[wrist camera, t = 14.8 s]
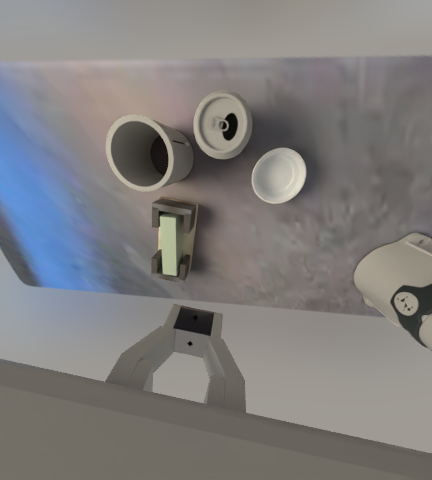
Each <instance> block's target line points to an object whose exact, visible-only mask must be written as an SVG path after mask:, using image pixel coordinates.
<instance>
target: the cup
mask: <svg viewBox="0 0 432 480" xmlns="http://www.w3.org/2000/svg"><path fill="white" fill-rule="evenodd" d="M158 136H161V137H162V139H163V141H164V142H165V144H166V147H167V151H168V157H169V161H168V162H169V164H168V168H167V172H166V174H165V176H163V175H161V174H160V173H159V172H158V171H157V170H156V168H155V167H154V165H153V163H152V160H151V154H150V153H151V147H152V144H153V142H154V140H155V139H156V138H157V137H158ZM173 140H175V141H178V142H182V143H184V144H185V145H183V144H179V143H175V142H173ZM106 153H107V158H108V161H109V164H110V166H111V168H112V170H113V172H114V173H115V174H116V176H117V177H118V178H119V179H120V180H121V181H122V182H123V183H124V184H125V185H127V186H128V187H130V188H132V189H135V190H138V191H144V192H149V191H154V190H157V189H159V188H162V187H165V186H167V185H170V184H172V183H175V182H177V181H180V180H182V179H184V178H185V177H186V176H187V175H188V174H189V173H190V171H191V169H192V166H193V161H194V154H193V150H192V147H191V144H190V143H189V141H188V140H187V138H186V137H185V136H184V135H183V134H181V133H180V132H178V131H176V130H174V129H172V128H170V127H168V126H165V125H163V124H161V123H159V122H156V121H154V120H152V119H150V118H148V117H145V116H142V115H136V114H132V115H131V114H130V115H126V116H124V117H121V118H119V119H118V120H117V121H115V123H114V124H113V125H112V127H111V128H110V130H109V132H108V135H107V139H106Z"/></svg>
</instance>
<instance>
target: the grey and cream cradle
mask: <svg viewBox="0 0 432 480" xmlns="http://www.w3.org/2000/svg"><path fill="white" fill-rule="evenodd" d="M198 205H199V204H197V203H192V202H186V201H181V200H176V199H170V198H165V197H160V199H159V200H157V201H155V202H153V203H152V227H155V228H159V246H158V252H157V253H156V254H155V255H154V256H153V258H152V274H151V277H155V278H160V279H165V280H170V281H175V282H180V283H184V282H185V279H186V277H187V275H188V272H190V271H191V262H192V254H193V246H194V238H195V230H196V221H197V213H198ZM165 212H170V213H175V214H180V215H183V260H182V262H181V264H180V270H179V272H178V274H177V276H174V275H166V274H163V266H162V248H161V230H160V216H161V215H162V214H164V213H165Z"/></svg>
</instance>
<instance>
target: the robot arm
mask: <svg viewBox="0 0 432 480" xmlns="http://www.w3.org/2000/svg"><path fill="white" fill-rule="evenodd" d="M354 283H355V285H356V287H357V289H358V290H359V291H360V292H361V293H362V294H363V299H364V302H365V303H366V304H367V305H368V306H370V307H376V308H377V309H378V310H379V311H380V312H381V313H382V314H383V315H384V316H386V317H387V318H388V319H389V320H390V321H391V322H392V323H393V324H395V325H396V326H398V327H403V328H404V329H405V330H406V331H407V332H408V334H410V336H411V337H413V338H414V339H415V340H417V341H418V342H419V343H420V344H421V345H422V346H424V347H426V348H428V349H430V350H431V351H432V238H430V237H428V236H425V235H423V234H421V233H417V232H415V233H412V234H409V235H408V236H406V237H404V238H403V239H401V240H399V241H397V242H394V243H391V244H388V245H385V246H382V247H380V248H378V249H376V250H374V251H372V252H371V253H369V254H368V255H367V256H366V257H365V258H363V260H362V261H361V262H360V263H359V265H358V266H357V268H356V270H355V273H354ZM222 318H223V315H222V314H221V313H216V312H211V311H205V310H200V309H195V308H190V307H186V306H181V305H177V304H173V305H172V307H171V310H170V312H169V314H168V316H167V319H166V321H165V323H164V326H160V327H159V328H157V329H156V330H154V331H153V332H151V333H150V334H149V335H147V336H146V337H144V338H143V339H142V340H140V341H139V342H137V343H136V344H135V345H133V346H132V347H130V348H129V349H128V350H126V351H125V352H123V353H122V354H121V356H120V358H119V359H118V361H117V362H116V364H115V366H114V367H113V369H112V371H111V373H110V374H109V376H108V377H107V379H106V381H105V382H103V381H99V380H94V379H90V378H85V377H81V376H76V375H71V374H67V373H62V372H58V371H53V370H49V369H44V368H39V367H35V366H31V365H26V364H22V363H16V362H12V361H7V360H3V359H0V480H432V454H431V453H427V452H422V451H417V450H413V449H409V448H404V447H399V446H395V445H390V444H386V443H381V442H376V441H372V440H368V439H363V438H358V437H354V436H349V435H345V434H340V433H336V432H331V431H327V430H322V429H317V428H313V427H308V426H304V425H299V424H295V423H289V422H286V421H281V420H276V419H272V418H267V417H263V416H258V415H254V414H249V413H246V403H245V402H246V401H245V380H244V378H243V376H242V374H241V372H240V370H239V368H238V366H237V365H236V363H235V361H234V359H233V357H232V355H231V353H230V351H229V349H228V347H227V346H226V344H225V342H224V340H223V339H221V329H222ZM173 352H178V353H184V354H189V355H193V356H197V357H201V358H203V360H204V363H205V367H206V370H207V372H208V376H209V379H210V381H209V385H208V388H207V392H206V396H205V400H204V403H199V402H194V401H190V400H186V399H181V398H176V397H172V396H167V395H163V394H158V393H154V392H152V384H153V383H152V382H153V373H154V372H155V371H156V370H157V369H158V368H159V367H160V366H161V365H162V364H163V363H164V362H165V361H166V360H167V359H168V358H169V357H170V355H171V354H172V353H173Z"/></svg>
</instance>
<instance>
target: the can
mask: <svg viewBox="0 0 432 480" xmlns="http://www.w3.org/2000/svg"><path fill="white" fill-rule="evenodd" d="M252 124H253V121H252V115H251V110H250V109H249V107H248V105H247V103H246V101H245V100H244V99H243V98H242V97H241V96H240V95H239V94H237V93H235V92H232V91H230V90H218V91H216V92H213V93H211V94H209V95H208V96H207V97H206V98H204V99H203V100H202V101H201V103H200V105H199V107H198V108H197V110H196V113H195V117H194V134H195V138H196V141H197V143H198V144H199V146H200V148H201V149H202V150H203V151H204V152H205V153H206V154H207V155H209V156H211V157H213V158H216V159H230V158H233V157H235V156H237V155H238V154H240V153H241V151H242V150H243V149H244V147H245V146H246V145H247V143H248V141H249V139H250V136H251V133H252Z"/></svg>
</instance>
